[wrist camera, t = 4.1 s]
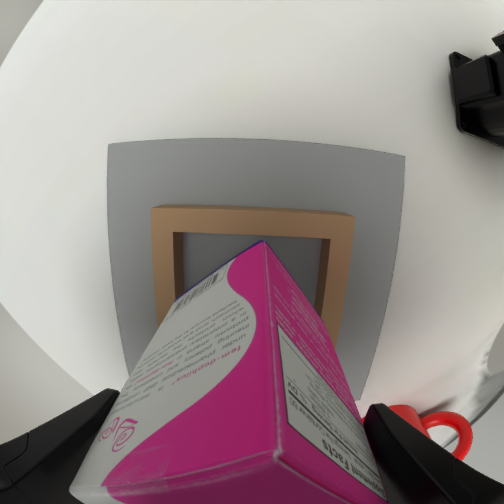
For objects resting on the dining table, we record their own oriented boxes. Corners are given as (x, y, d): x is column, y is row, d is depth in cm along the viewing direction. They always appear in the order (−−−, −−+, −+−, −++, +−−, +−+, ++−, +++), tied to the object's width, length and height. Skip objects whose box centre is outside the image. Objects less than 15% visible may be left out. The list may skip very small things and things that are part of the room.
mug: (448, 418, 21) (478, 465, 14) (349, 463, 23) (363, 521, 15) (453, 371, 20) (495, 424, 12) (335, 426, 21) (353, 497, 13)
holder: (400, 156, 15) (421, 154, 13) (357, 395, 20) (366, 416, 17) (112, 144, 16) (91, 141, 13) (134, 384, 20) (123, 404, 18)
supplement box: (241, 374, 16) (217, 565, 5) (173, 298, 15) (51, 482, 4) (328, 324, 15) (399, 528, 4) (264, 234, 14) (261, 449, 2)
